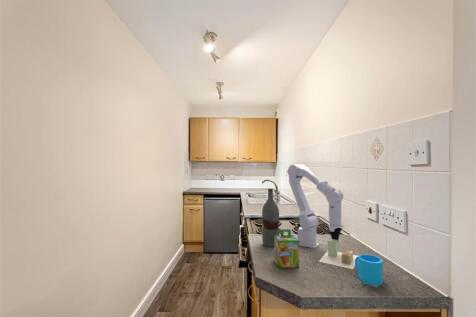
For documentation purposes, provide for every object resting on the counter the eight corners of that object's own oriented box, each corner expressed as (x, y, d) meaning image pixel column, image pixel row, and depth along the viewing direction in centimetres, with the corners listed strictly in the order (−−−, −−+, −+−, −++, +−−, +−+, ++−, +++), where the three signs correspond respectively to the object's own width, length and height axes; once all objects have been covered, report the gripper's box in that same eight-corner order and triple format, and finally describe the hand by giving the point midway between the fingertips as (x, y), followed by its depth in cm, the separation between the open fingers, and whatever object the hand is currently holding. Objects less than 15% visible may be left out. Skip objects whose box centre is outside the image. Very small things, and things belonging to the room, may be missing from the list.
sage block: (327, 255, 116) (327, 240, 116) (329, 253, 119) (329, 238, 119) (335, 257, 114) (335, 242, 114) (337, 254, 117) (337, 240, 117)
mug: (388, 284, 90) (388, 261, 90) (370, 287, 88) (369, 264, 88) (363, 270, 101) (363, 250, 102) (347, 272, 99) (346, 252, 100)
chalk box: (278, 268, 103) (277, 233, 103) (273, 259, 112) (273, 227, 112) (299, 268, 104) (299, 232, 104) (293, 259, 113) (293, 227, 113)
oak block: (344, 257, 113) (341, 262, 108) (344, 249, 113) (341, 254, 108) (353, 259, 111) (350, 264, 105) (353, 251, 111) (350, 256, 106)
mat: (318, 262, 109) (318, 261, 109) (328, 251, 123) (328, 250, 123) (353, 270, 101) (353, 269, 101) (359, 257, 115) (359, 255, 115)
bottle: (260, 246, 130) (260, 189, 130) (263, 241, 139) (263, 187, 139) (278, 247, 128) (278, 190, 128) (280, 242, 136) (279, 188, 137)
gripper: (340, 219, 112) (340, 248, 112) (346, 213, 124) (346, 240, 124) (324, 217, 116) (324, 245, 116) (332, 211, 128) (332, 238, 128)
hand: (335, 242), depth 120 cm, fingers closed
